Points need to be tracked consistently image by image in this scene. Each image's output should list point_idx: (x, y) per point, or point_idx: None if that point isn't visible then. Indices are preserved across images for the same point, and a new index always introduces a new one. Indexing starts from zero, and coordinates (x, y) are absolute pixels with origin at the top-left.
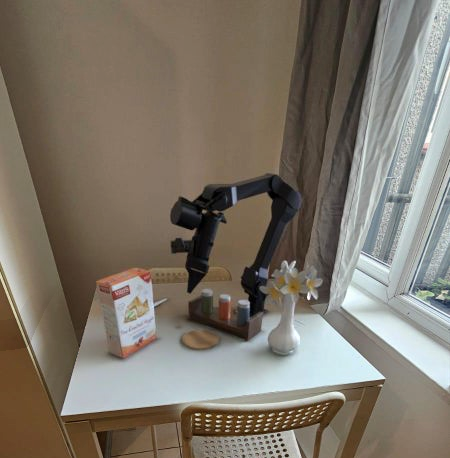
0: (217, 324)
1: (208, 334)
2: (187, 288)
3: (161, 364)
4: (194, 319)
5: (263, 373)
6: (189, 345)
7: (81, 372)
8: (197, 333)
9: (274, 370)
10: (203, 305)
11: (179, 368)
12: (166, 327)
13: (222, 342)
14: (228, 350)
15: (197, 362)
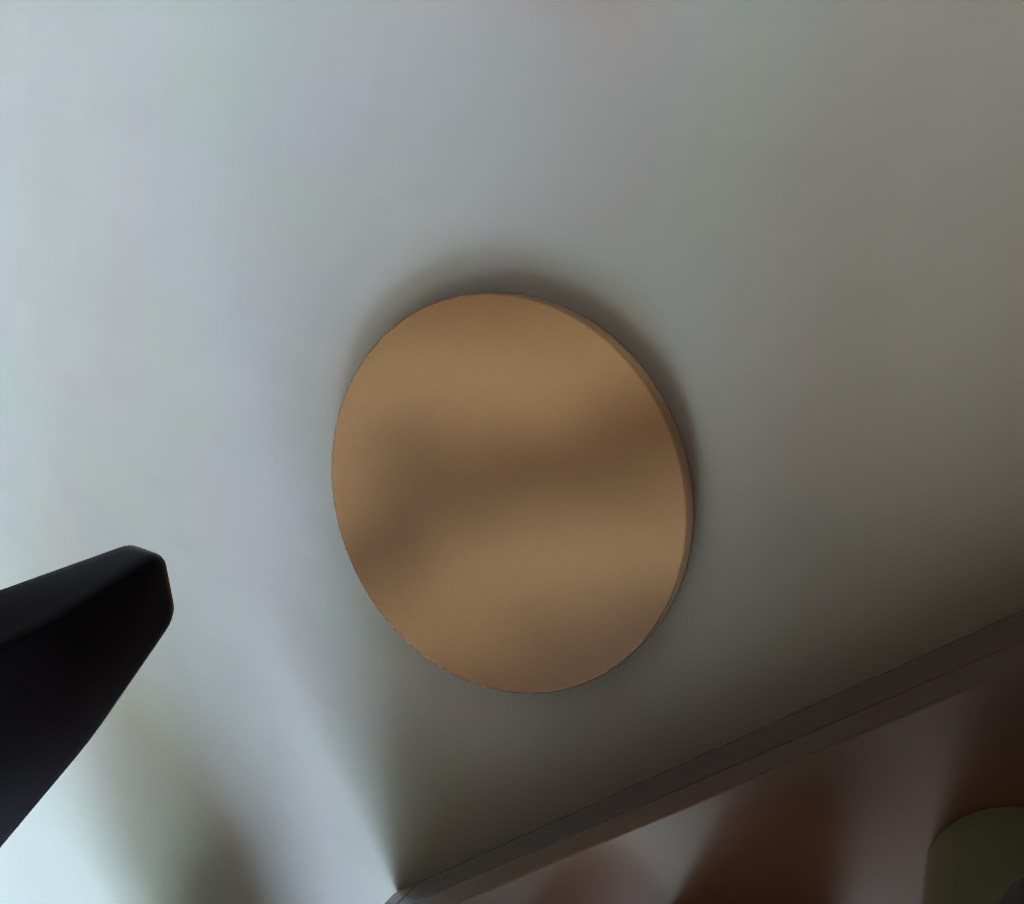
0: (641, 808)
1: (551, 618)
2: (29, 583)
3: (209, 29)
4: (1018, 624)
5: None
6: (390, 345)
7: None
8: (603, 510)
9: (78, 795)
10: (972, 893)
11: (151, 184)
12: (972, 136)
13: (421, 680)
14: (301, 659)
15: (197, 348)
